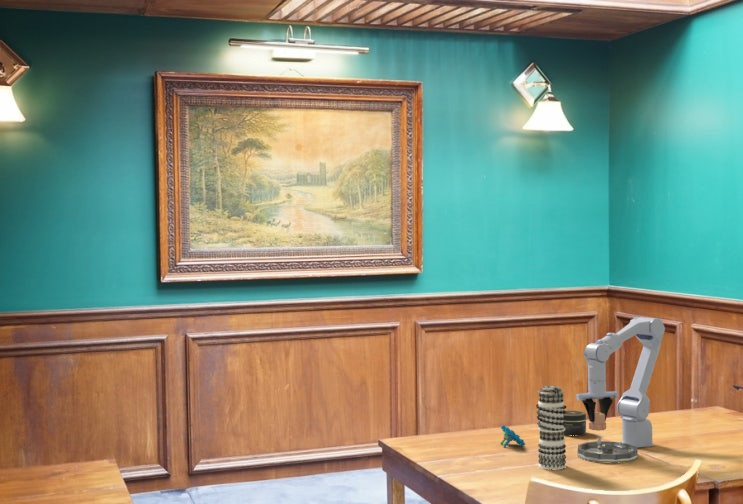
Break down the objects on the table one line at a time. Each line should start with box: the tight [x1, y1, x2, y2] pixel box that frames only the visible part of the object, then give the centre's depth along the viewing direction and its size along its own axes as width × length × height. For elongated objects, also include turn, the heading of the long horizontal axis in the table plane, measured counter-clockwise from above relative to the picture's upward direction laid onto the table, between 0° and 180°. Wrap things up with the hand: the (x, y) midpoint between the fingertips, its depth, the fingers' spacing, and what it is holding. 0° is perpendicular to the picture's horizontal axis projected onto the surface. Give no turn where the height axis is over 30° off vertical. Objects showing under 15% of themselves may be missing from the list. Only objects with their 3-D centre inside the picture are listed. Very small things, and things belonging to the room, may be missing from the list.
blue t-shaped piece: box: [499, 424, 526, 448], centre depth 322 cm, size 11×6×10 cm
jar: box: [563, 410, 587, 437], centre depth 340 cm, size 10×10×8 cm
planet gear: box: [588, 411, 607, 432], centre depth 311 cm, size 5×5×5 cm
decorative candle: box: [535, 385, 567, 471], centre depth 293 cm, size 9×9×25 cm
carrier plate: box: [577, 436, 639, 464], centre depth 306 cm, size 19×19×5 cm
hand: (597, 420), depth 311 cm, fingers closed on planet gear, 4 cm apart
